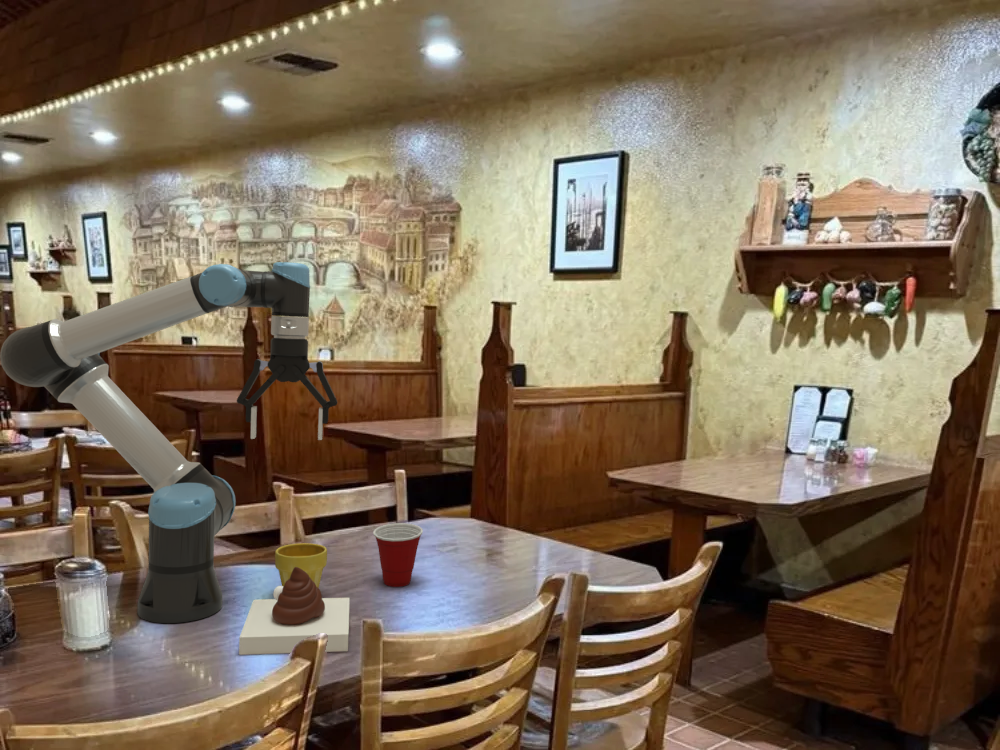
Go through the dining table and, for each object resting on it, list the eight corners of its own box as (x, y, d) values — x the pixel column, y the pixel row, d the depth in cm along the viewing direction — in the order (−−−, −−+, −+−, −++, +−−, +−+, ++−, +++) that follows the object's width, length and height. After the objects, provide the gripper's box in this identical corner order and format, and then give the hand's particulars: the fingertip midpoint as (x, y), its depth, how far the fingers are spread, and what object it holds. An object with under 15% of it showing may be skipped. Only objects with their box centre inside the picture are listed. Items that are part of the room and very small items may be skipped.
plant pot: (272, 589, 162) (273, 543, 161) (322, 585, 165) (323, 541, 165) (276, 607, 152) (277, 558, 152) (329, 602, 156) (330, 555, 155)
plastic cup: (361, 585, 167) (362, 530, 166) (390, 572, 177) (392, 520, 176) (402, 594, 162) (404, 538, 161) (430, 581, 172) (432, 528, 171)
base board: (239, 654, 130) (239, 637, 130) (253, 614, 148) (253, 599, 147) (347, 651, 133) (348, 634, 133) (349, 612, 151) (349, 597, 151)
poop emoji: (293, 630, 133) (295, 577, 133) (260, 619, 138) (261, 567, 137) (334, 613, 142) (336, 563, 141) (301, 603, 146) (303, 555, 146)
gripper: (224, 335, 155) (221, 440, 156) (350, 340, 159) (347, 442, 161) (230, 334, 162) (227, 434, 163) (350, 339, 167) (347, 436, 168)
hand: (286, 438), depth 162 cm, fingers open, 13 cm apart
